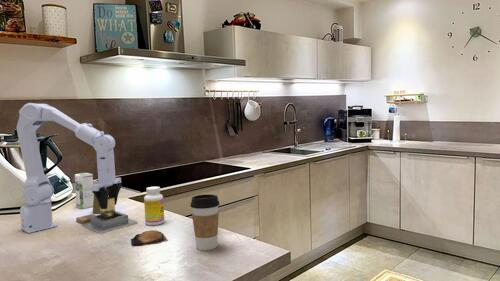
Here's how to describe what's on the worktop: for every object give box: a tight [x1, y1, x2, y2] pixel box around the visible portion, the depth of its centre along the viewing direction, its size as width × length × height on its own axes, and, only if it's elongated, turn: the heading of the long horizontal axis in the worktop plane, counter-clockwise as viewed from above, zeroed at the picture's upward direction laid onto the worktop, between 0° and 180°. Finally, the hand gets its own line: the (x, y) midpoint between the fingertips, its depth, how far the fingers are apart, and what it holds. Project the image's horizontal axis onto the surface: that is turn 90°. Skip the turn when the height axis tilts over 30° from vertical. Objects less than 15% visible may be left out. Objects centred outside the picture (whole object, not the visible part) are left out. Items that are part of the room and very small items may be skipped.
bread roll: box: [130, 229, 169, 247], centre depth 114 cm, size 11×8×4 cm
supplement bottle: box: [143, 186, 165, 226], centre depth 132 cm, size 7×7×13 cm
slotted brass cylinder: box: [99, 196, 116, 217], centre depth 132 cm, size 5×5×6 cm
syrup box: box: [74, 172, 94, 210], centre depth 159 cm, size 6×6×14 cm
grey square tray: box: [81, 210, 139, 234], centre depth 132 cm, size 14×14×3 cm
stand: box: [75, 213, 97, 225], centre depth 137 cm, size 6×6×2 cm
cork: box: [92, 188, 106, 215], centre depth 150 cm, size 6×6×11 cm
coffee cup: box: [189, 193, 220, 251], centre depth 106 cm, size 8×8×15 cm
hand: (108, 206), depth 132 cm, fingers closed on slotted brass cylinder, 5 cm apart
